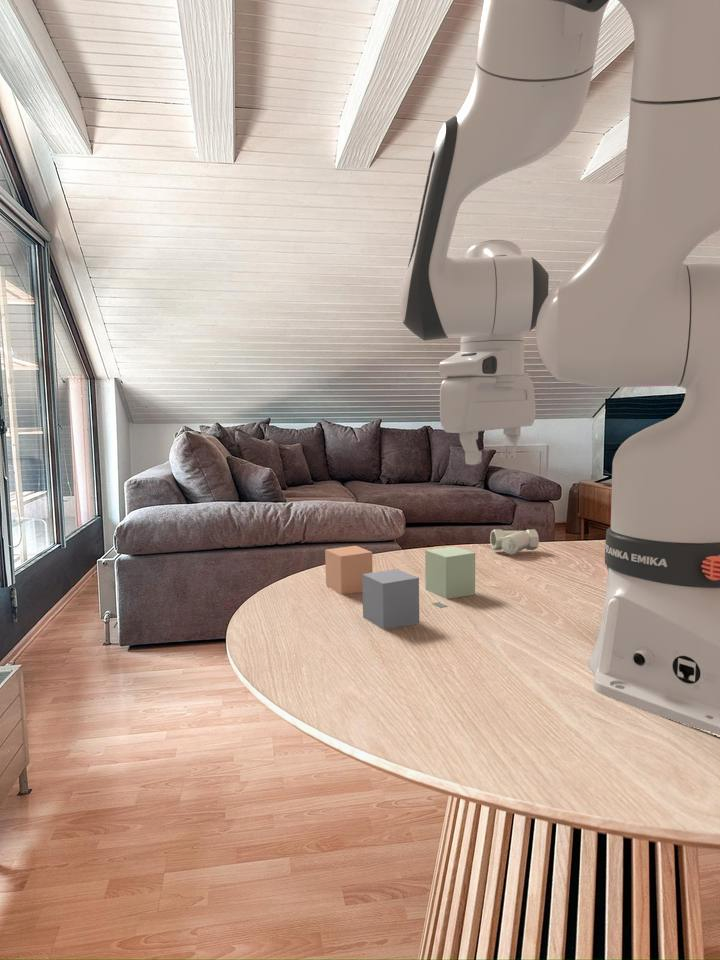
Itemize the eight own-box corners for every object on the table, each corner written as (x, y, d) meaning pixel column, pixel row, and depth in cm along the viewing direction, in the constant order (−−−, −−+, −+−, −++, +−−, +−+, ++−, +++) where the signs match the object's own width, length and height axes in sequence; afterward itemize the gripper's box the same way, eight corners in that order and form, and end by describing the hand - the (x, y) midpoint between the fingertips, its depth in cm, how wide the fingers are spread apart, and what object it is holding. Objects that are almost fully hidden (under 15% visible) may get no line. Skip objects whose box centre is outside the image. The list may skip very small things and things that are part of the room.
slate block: (419, 626, 77) (419, 577, 77) (383, 633, 75) (382, 583, 74) (397, 615, 82) (397, 568, 81) (363, 621, 79) (362, 574, 79)
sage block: (475, 594, 90) (475, 552, 89) (446, 600, 88) (445, 557, 87) (453, 586, 94) (453, 546, 94) (425, 591, 92) (425, 550, 91)
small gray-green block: (447, 607, 84) (447, 606, 84) (440, 608, 84) (440, 607, 84) (438, 603, 86) (438, 602, 86) (431, 604, 85) (431, 603, 85)
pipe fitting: (503, 536, 112) (490, 527, 118) (502, 557, 112) (489, 547, 119) (547, 536, 113) (532, 527, 119) (545, 557, 113) (530, 547, 120)
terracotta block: (372, 593, 91) (372, 552, 91) (341, 598, 89) (340, 556, 88) (356, 585, 96) (355, 545, 95) (326, 590, 93) (325, 549, 93)
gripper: (509, 366, 100) (508, 454, 102) (431, 363, 86) (432, 466, 87) (546, 364, 96) (545, 456, 98) (471, 361, 81) (471, 469, 83)
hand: (491, 461), depth 93 cm, fingers open, 8 cm apart
